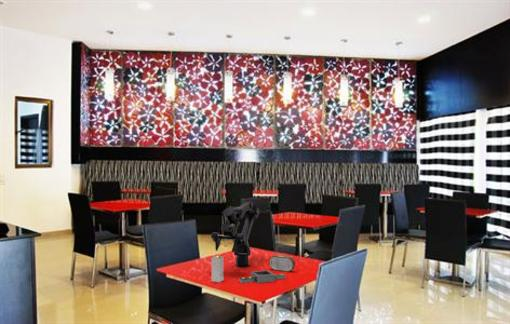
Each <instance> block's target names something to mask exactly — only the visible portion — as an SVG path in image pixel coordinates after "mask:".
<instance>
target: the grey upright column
mask: <svg viewBox="0 0 510 324" xmlns="http://www.w3.org/2000/svg"><path fill="white" fill-rule="evenodd" d="M222 281H224V256H223V255H222V256H221V255H217V254H216V255H214V256H213V257H211V282H213V283H221V282H222Z"/></svg>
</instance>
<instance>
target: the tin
mask: <svg viewBox="0 0 510 324" xmlns="http://www.w3.org/2000/svg"><path fill="white" fill-rule="evenodd" d="M268 265H269V267H270V268H271V270H273V271H276V272H277V271H279V272H285V273H289V272H292V271H293V270H294V269H295V268H296V261H295V259H294V258H293V257H291V256H290V255H281V254H274V255H272V256H271V257H270V258H269V260H268Z"/></svg>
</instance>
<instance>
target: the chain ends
mask: <svg viewBox="0 0 510 324" xmlns="http://www.w3.org/2000/svg"><path fill="white" fill-rule="evenodd" d="M286 277H287V276H286V275H285V274H284V273H278V274H275V273H273V272H271V271H270V270H267V269H266V270H264V269H263V270H258V271H257V270H254V271H251V272H250V276H248V277H244V276H242V277H239V278H238V279H239V282H240V283H241V284H244V283H245V284H246V283H247V284H249V283H256V282H257V283H256V284H262V283H271V282H272V283H273V282H275V281H276V280H278V281H279V280H286Z"/></svg>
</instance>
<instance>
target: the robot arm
mask: <svg viewBox="0 0 510 324" xmlns="http://www.w3.org/2000/svg"><path fill="white" fill-rule="evenodd" d="M222 214H223V216H224V218H225V220H226V222H228V223H227V224H225V223H224V224H221V228H220V231H222V234H220V232H215V231H214V232H212V233H210V234H211V235H210V237H211V239H212V241H213V242H214V244H215V245H214V246H215V248H214V249H215V252H217V251H218V249H219V248H220V246H221V242H222V240H228V241H234V243H233V246H232V247H231V253H233V254H234V256H236V257H235V264H234V265H235V266H236V267H238V268H242V267H250V264H249V256H251V254H252V251H251V250H252V249H250V244H249V239H250V234H251V231H252V227H253V225H254V222H255V221H256V220H257V219H258V217H259V216H260V209H259V207H258V205H255V204H254V203H253V202H252V201H244V202H243V203H242V204H240V205H239V206H237V207H233V206H228V207H226V208H225V209H224V210H223V212H222ZM244 217H245V221H244V225H243V227H242V230H241V233H238V231H237V230H238V227H239V226H240V225H241V223H240V219H243V218H244Z"/></svg>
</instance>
